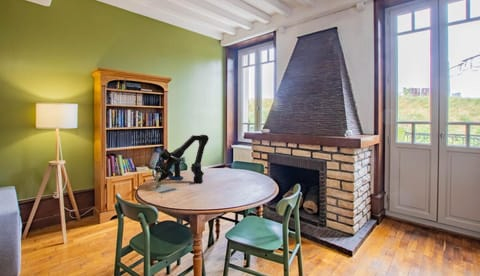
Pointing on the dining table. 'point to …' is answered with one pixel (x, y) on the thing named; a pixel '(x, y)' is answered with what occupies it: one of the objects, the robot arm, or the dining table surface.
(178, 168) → the handheld scanner
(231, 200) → the dining table surface
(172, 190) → the strip
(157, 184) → the birch peg
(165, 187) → the board
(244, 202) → the dining table surface
